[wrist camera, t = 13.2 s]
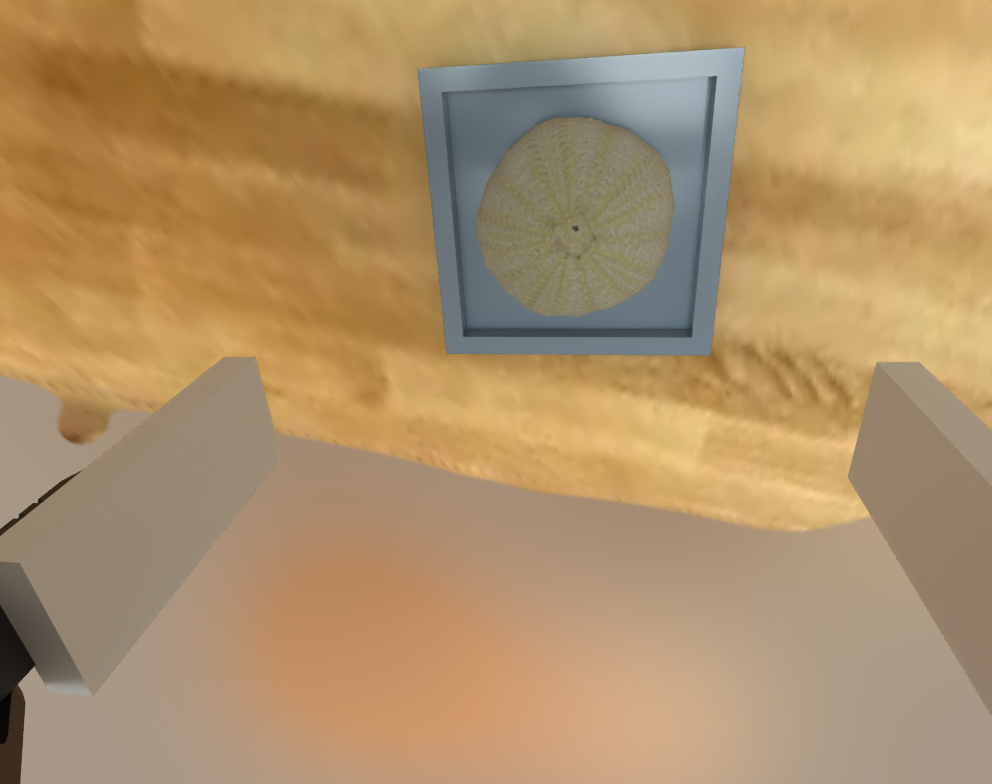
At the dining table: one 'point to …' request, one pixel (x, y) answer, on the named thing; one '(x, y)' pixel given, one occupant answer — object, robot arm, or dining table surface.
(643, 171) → the sea urchin shell
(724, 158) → the tray
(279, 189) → the dining table surface
